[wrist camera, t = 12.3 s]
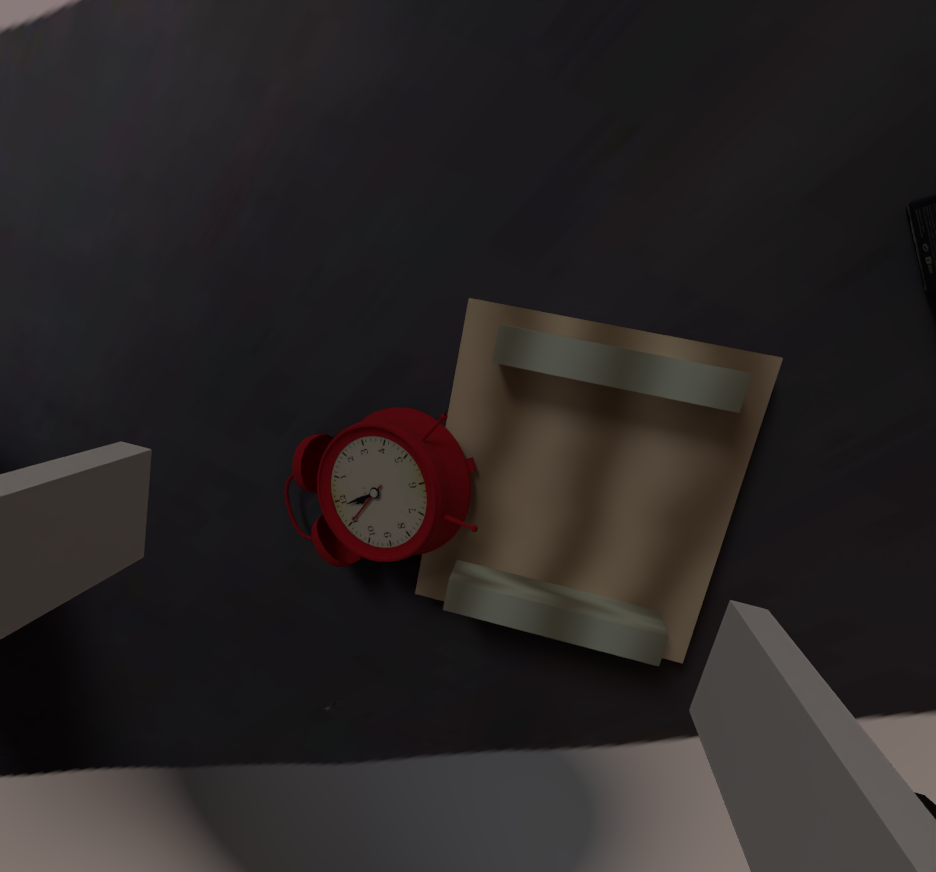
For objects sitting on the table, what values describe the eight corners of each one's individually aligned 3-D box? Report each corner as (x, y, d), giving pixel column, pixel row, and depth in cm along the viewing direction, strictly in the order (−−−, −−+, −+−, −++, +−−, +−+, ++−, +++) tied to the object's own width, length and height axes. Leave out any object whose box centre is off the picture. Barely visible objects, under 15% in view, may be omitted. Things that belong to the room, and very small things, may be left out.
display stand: (423, 577, 40) (403, 616, 34) (474, 300, 35) (460, 295, 30) (674, 641, 38) (694, 693, 32) (765, 355, 33) (807, 361, 27)
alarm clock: (486, 556, 31) (269, 604, 34) (501, 529, 37) (315, 571, 40) (439, 387, 30) (224, 451, 34) (461, 388, 37) (278, 442, 40)
